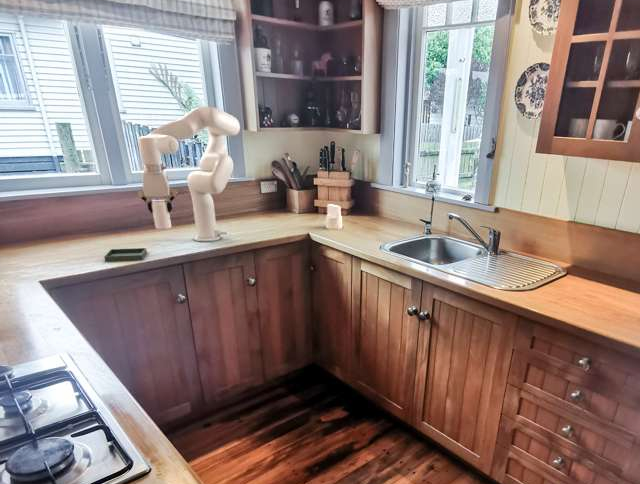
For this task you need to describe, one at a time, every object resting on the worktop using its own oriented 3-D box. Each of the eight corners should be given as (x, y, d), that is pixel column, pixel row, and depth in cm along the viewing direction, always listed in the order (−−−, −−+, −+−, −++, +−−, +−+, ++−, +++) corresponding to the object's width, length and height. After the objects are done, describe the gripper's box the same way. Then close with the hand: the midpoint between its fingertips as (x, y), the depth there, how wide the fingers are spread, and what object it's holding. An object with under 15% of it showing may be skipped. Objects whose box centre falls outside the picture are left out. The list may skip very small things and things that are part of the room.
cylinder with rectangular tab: (322, 226, 259) (322, 204, 254) (335, 224, 264) (335, 203, 259) (332, 230, 253) (332, 207, 247) (345, 227, 258) (345, 206, 253)
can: (166, 230, 200) (161, 201, 194) (152, 229, 201) (147, 200, 195) (174, 226, 205) (170, 199, 200) (161, 225, 206) (156, 198, 201)
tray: (146, 252, 204) (146, 248, 203) (142, 259, 194) (141, 255, 193) (111, 254, 200) (110, 249, 199) (105, 261, 191) (104, 256, 190)
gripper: (176, 167, 197) (183, 209, 205) (132, 167, 193) (140, 210, 201) (174, 169, 191) (181, 213, 199) (128, 169, 187) (137, 214, 195)
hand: (160, 211), depth 200 cm, fingers closed on can, 6 cm apart
